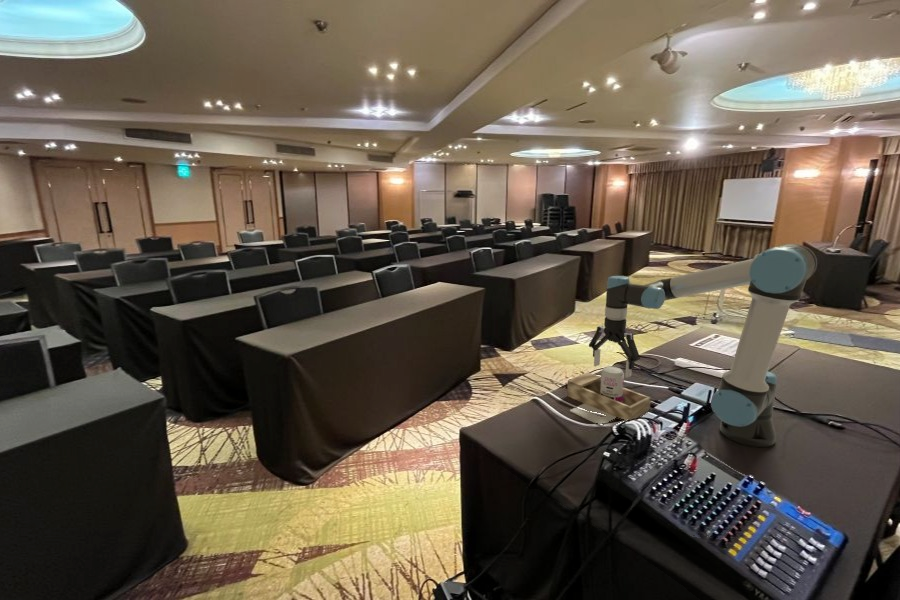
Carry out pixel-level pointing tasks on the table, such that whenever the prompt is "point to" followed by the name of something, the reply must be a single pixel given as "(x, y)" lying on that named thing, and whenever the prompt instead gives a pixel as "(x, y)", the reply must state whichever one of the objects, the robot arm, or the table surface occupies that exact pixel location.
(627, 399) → the crate
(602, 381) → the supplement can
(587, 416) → the mat
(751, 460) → the table surface
